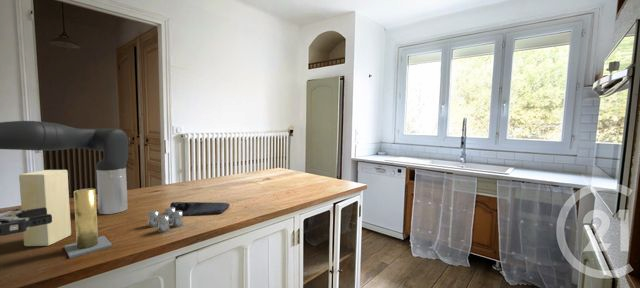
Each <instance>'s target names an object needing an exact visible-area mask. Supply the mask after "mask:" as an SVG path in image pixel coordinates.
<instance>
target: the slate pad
mask: <svg viewBox="0 0 640 288" xmlns="http://www.w3.org/2000/svg"><path fill="white" fill-rule="evenodd" d="M63 247H64V250H65V252H66V254H67V256H68V258H69V259H73V258H76V257H79V256H83V255H86V254H90V253H93V252H96V251H101V250H105V249H108V248H111V247H113V244H112V242H111V241H109V240H108V238H107V237H106V236H105V235H102V236H98V244H97V245H95V246H92V247H89V248H84V249H78V248H77V242H74V243H70V244H65V245H64V246H63Z"/></svg>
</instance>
